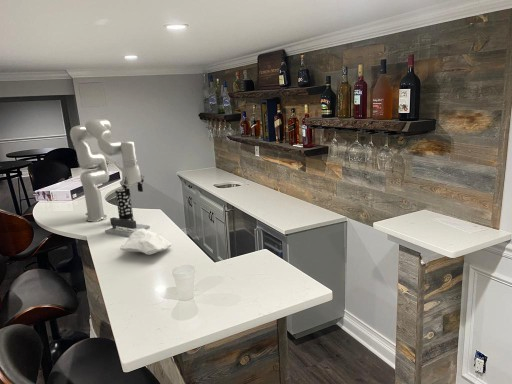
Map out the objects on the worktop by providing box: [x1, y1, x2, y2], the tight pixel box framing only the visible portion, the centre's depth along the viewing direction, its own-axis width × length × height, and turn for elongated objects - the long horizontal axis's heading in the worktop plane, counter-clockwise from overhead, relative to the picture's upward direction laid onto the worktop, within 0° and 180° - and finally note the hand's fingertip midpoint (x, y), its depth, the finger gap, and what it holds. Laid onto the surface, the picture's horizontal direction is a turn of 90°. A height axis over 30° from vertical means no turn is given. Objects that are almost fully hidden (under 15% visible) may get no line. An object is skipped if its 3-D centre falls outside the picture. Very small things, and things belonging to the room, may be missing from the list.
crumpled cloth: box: [120, 228, 173, 255], centre depth 191 cm, size 24×35×9 cm
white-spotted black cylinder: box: [115, 188, 135, 221], centre depth 240 cm, size 8×8×20 cm
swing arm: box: [109, 217, 137, 229], centre depth 220 cm, size 19×3×4 cm, turn 61°
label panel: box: [104, 223, 151, 238], centre depth 224 cm, size 19×16×3 cm
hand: (134, 193), depth 220 cm, fingers open, 9 cm apart
